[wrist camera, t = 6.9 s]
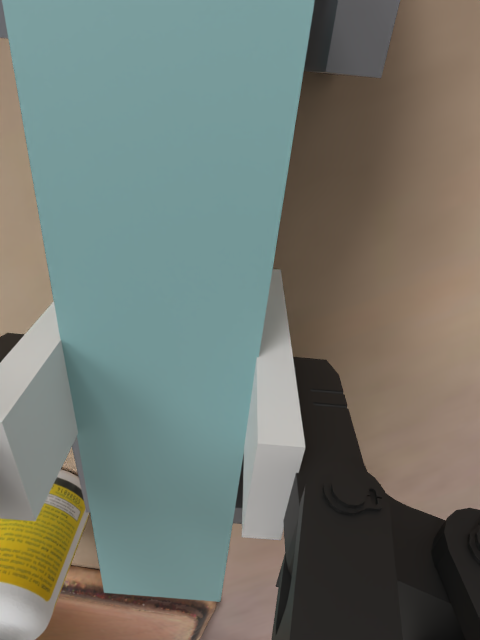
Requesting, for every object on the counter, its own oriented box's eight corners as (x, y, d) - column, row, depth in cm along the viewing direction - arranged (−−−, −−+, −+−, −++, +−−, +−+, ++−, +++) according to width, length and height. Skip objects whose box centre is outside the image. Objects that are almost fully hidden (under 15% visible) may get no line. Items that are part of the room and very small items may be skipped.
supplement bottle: (1, 459, 24) (-130, 664, 16) (90, 466, 24) (7, 673, 16) (20, 509, 27) (-82, 704, 19) (99, 515, 27) (33, 712, 19)
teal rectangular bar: (110, -85, 8) (-43, -261, 4) (298, -60, 8) (347, -207, 4) (139, 468, 18) (104, 592, 13) (228, 476, 18) (220, 601, 13)
